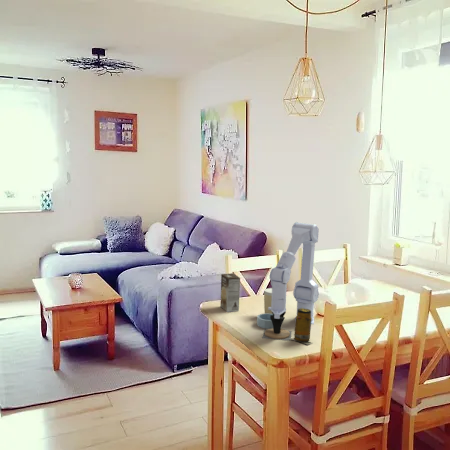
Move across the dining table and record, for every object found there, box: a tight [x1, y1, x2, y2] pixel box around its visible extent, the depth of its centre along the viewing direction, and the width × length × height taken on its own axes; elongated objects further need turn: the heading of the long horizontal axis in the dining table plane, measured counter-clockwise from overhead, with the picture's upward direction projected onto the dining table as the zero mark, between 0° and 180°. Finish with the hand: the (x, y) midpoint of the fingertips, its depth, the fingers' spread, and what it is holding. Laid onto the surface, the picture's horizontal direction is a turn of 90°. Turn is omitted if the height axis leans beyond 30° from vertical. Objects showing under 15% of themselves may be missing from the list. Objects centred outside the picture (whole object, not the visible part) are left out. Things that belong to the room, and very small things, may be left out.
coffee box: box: [220, 272, 241, 313], centre depth 225 cm, size 9×6×16 cm
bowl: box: [256, 312, 273, 329], centre depth 204 cm, size 10×10×4 cm
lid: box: [265, 328, 290, 340], centre depth 192 cm, size 10×10×5 cm
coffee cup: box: [263, 287, 273, 314], centre depth 216 cm, size 9×9×12 cm
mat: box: [261, 328, 292, 342], centre depth 192 cm, size 11×11×1 cm
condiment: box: [290, 308, 313, 345], centre depth 187 cm, size 7×8×12 cm
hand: (277, 330), depth 192 cm, fingers open, 6 cm apart
